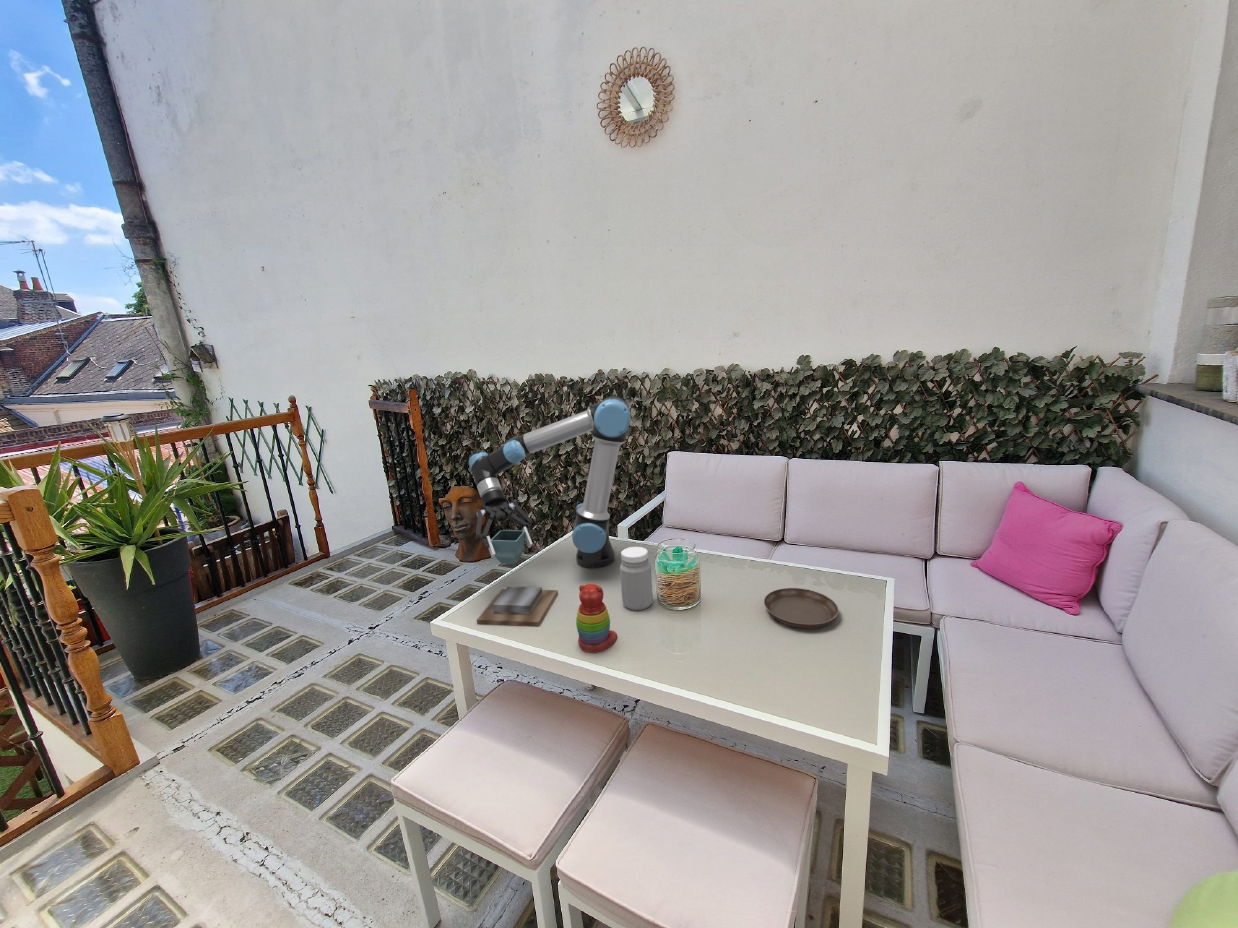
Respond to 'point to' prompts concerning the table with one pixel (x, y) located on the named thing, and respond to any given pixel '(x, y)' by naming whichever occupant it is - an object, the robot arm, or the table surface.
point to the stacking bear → (593, 620)
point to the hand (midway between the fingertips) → (512, 550)
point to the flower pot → (508, 545)
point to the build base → (519, 618)
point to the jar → (636, 578)
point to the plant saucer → (801, 607)
